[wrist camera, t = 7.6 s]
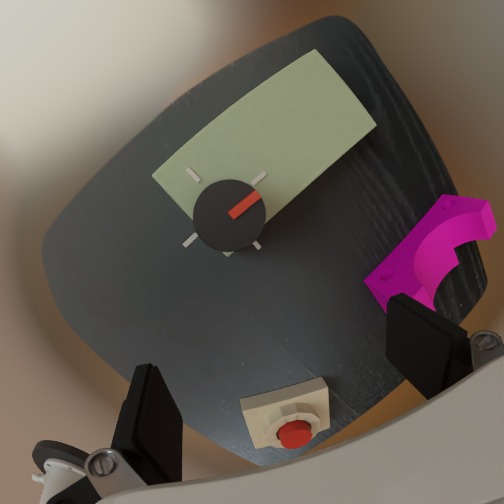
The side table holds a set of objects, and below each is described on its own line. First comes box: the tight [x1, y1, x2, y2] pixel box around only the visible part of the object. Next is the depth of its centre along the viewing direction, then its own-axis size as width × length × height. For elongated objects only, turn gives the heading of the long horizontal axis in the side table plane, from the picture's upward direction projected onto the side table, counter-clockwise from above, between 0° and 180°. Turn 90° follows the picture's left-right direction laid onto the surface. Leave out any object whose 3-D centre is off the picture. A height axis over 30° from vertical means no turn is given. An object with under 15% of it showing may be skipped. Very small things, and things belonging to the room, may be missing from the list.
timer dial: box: [193, 179, 266, 252], centre depth 20 cm, size 4×4×6 cm
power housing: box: [240, 377, 330, 449], centre depth 30 cm, size 10×8×4 cm
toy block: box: [364, 194, 497, 314], centre depth 26 cm, size 15×6×8 cm, turn 131°
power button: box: [278, 420, 312, 449], centre depth 28 cm, size 4×4×2 cm
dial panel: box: [152, 49, 377, 257], centre depth 23 cm, size 20×10×3 cm, turn 131°
